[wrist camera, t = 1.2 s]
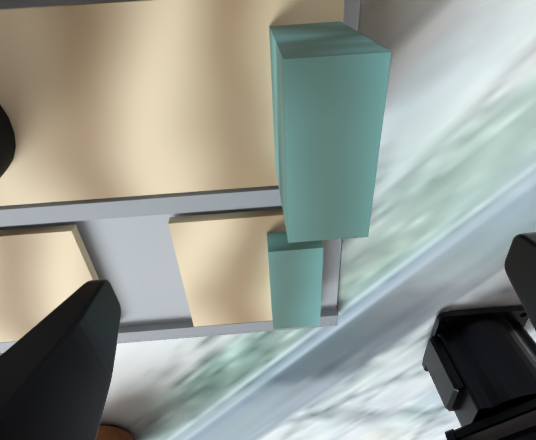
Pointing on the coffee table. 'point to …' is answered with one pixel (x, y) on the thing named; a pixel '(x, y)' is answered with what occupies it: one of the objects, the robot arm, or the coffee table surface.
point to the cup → (6, 142)
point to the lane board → (160, 242)
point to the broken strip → (190, 265)
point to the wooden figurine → (112, 433)
